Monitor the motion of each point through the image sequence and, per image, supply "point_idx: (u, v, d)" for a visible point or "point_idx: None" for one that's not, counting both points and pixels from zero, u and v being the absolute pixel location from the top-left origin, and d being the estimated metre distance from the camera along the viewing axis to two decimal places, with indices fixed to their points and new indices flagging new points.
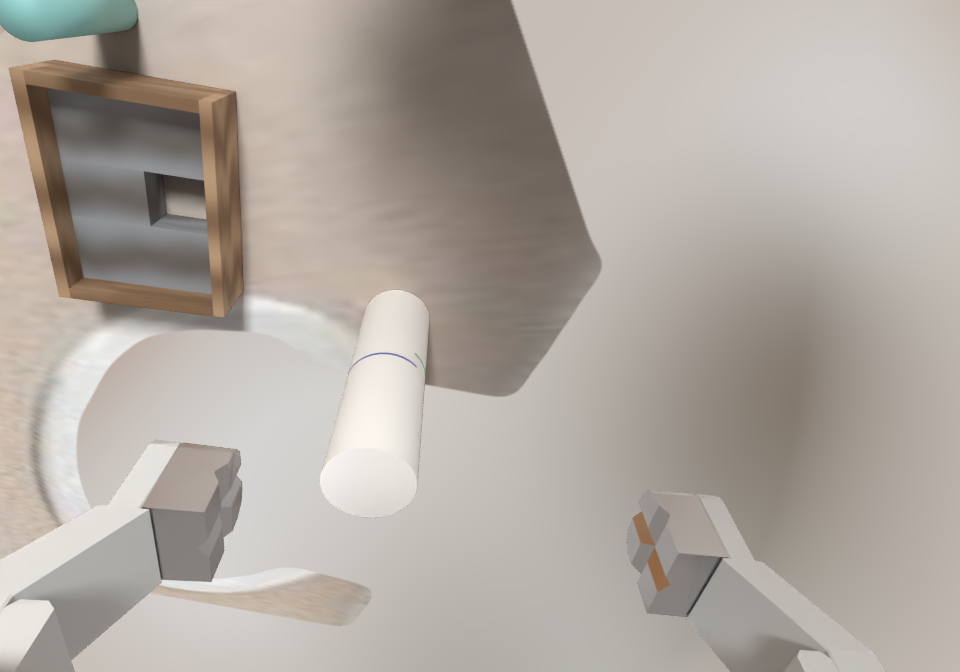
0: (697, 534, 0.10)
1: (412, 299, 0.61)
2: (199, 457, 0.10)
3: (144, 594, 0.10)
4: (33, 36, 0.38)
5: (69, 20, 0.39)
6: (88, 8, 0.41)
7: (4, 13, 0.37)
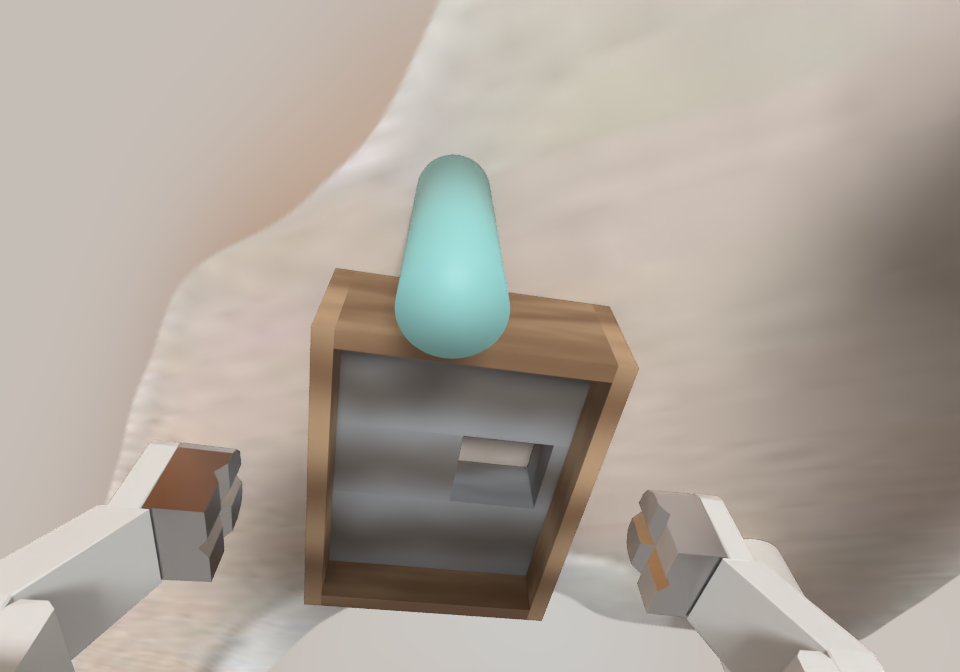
0: (697, 534, 0.10)
1: (776, 556, 0.42)
2: (199, 457, 0.10)
3: (144, 594, 0.10)
4: (460, 350, 0.19)
5: None
6: None
7: (418, 315, 0.18)
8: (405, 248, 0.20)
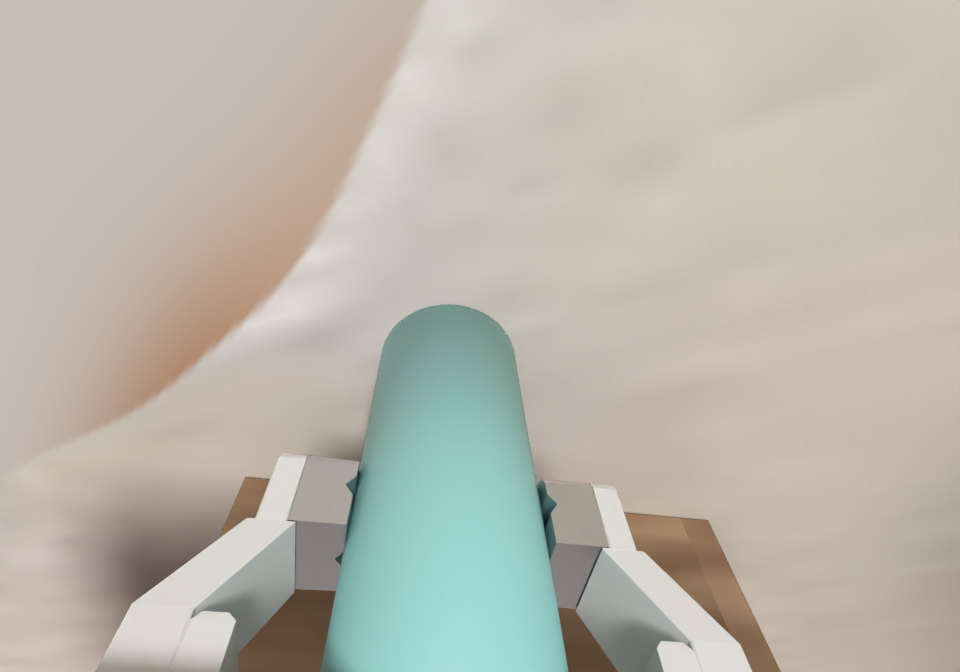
0: (580, 525, 0.10)
1: None
2: (329, 469, 0.10)
3: (281, 603, 0.10)
4: None
5: None
6: None
7: None
8: (321, 669, 0.08)
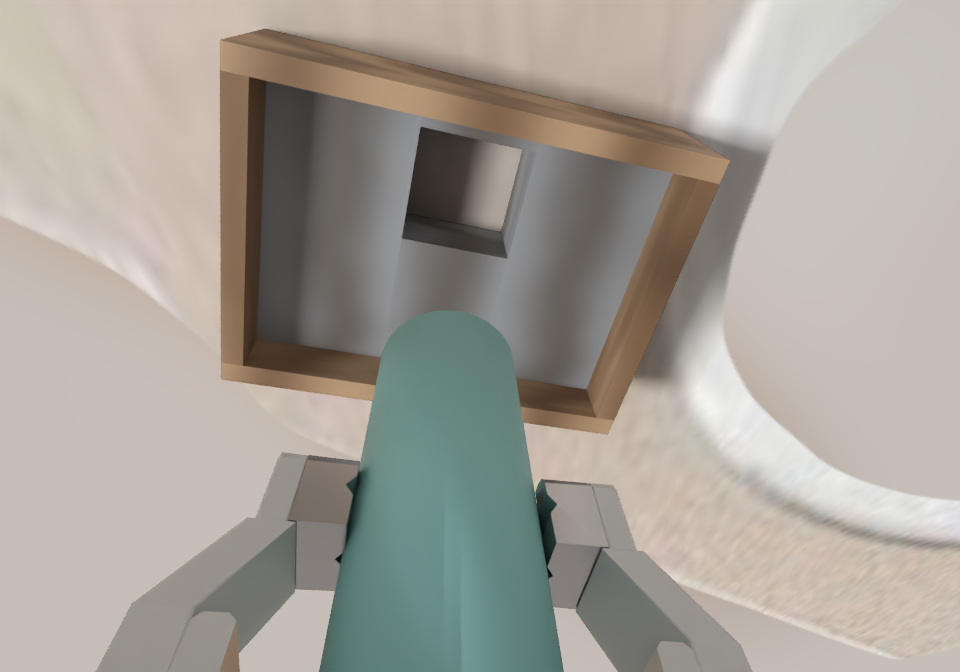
0: (581, 525, 0.10)
1: None
2: (329, 470, 0.10)
3: (282, 603, 0.10)
4: None
5: None
6: None
7: None
8: None
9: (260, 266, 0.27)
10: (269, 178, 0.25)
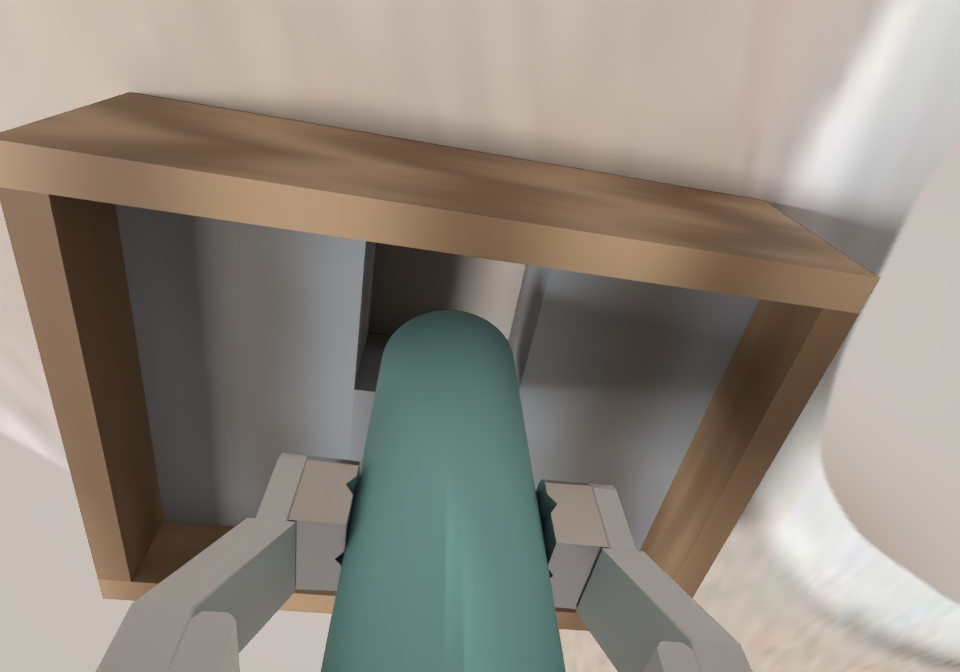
0: (580, 524, 0.10)
1: None
2: (329, 470, 0.10)
3: (282, 603, 0.10)
4: None
5: None
6: None
7: None
8: None
9: (151, 434, 0.19)
10: (143, 320, 0.16)
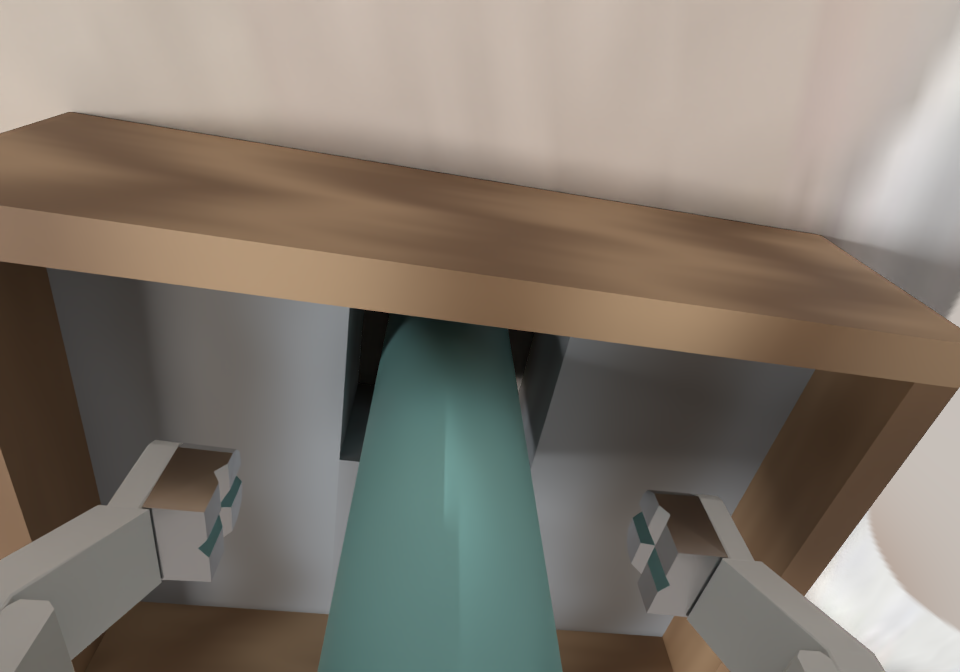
0: (697, 535, 0.10)
1: None
2: (199, 457, 0.10)
3: (144, 594, 0.10)
4: None
5: None
6: None
7: None
8: (343, 543, 0.10)
9: None
10: (85, 385, 0.14)
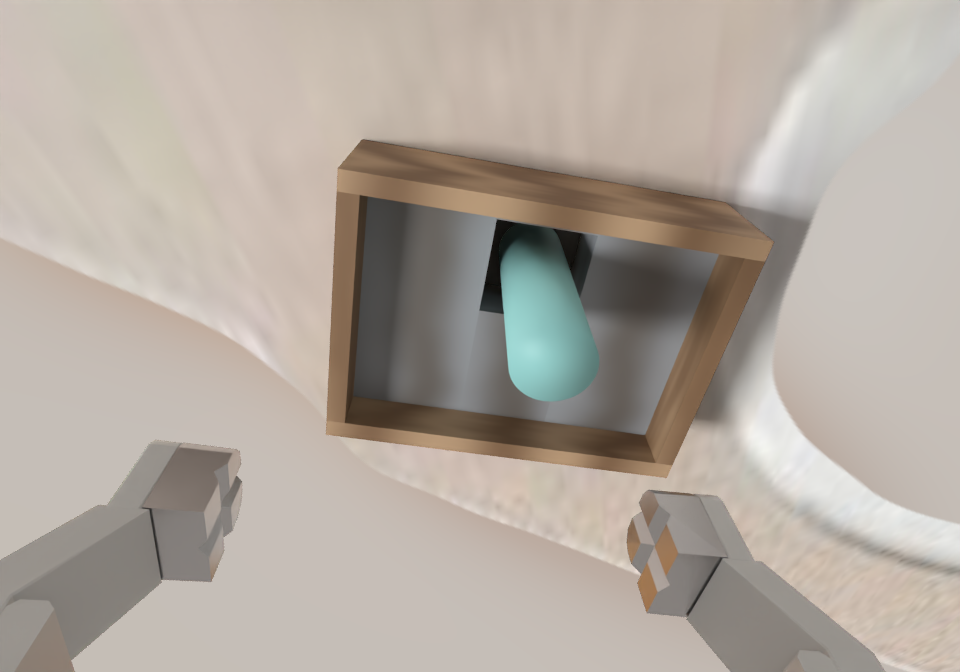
0: (697, 535, 0.10)
1: None
2: (199, 457, 0.10)
3: (144, 594, 0.10)
4: (557, 395, 0.23)
5: None
6: None
7: (526, 368, 0.23)
8: (507, 309, 0.25)
9: (358, 337, 0.32)
10: (368, 266, 0.30)
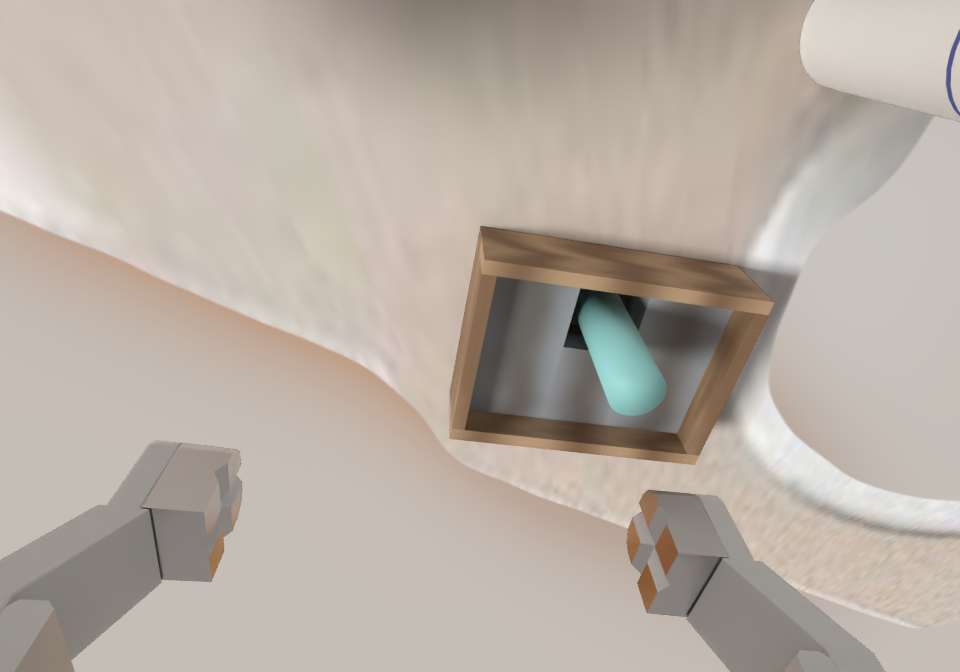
0: (697, 534, 0.10)
1: None
2: (199, 457, 0.10)
3: (144, 594, 0.10)
4: (636, 411, 0.35)
5: None
6: None
7: (618, 395, 0.35)
8: (597, 352, 0.37)
9: None
10: None
